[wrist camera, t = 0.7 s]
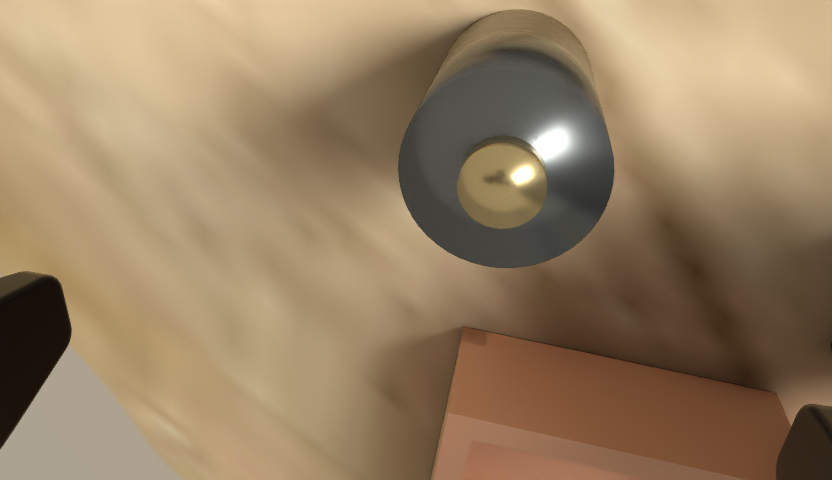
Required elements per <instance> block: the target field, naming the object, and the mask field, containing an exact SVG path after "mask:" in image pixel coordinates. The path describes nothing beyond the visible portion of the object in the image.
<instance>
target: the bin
mask: <svg viewBox="0 0 832 480" xmlns="http://www.w3.org/2000/svg"><path fill="white" fill-rule="evenodd" d="M790 428H791V425H790V423H789V421H788V419H787V416H786V414H785V412H784V410H783V408H782V405H781V403H780V401H779V399H778V397H777V394H776V393H772V392H768V391H763V390H758V389H754V388H749V387H744V386H740V385H735V384H730V383H725V382H721V381H716V380H711V379H707V378H702V377H697V376H693V375H688V374H683V373H679V372H674V371H669V370H664V369H660V368H655V367H650V366H646V365H641V364H636V363H632V362H627V361H622V360H618V359H613V358H608V357H604V356H599V355H594V354H589V353H585V352H580V351H575V350H571V349H566V348H561V347H557V346H552V345H547V344H543V343H538V342H533V341H528V340H524V339H519V338H514V337H510V336H505V335H500V334H496V333H491V332H486V331H482V330H477V329H472V328H467V327H463V331H462V336H461V341H460V345H459V350H458V354H457V359H456V364H455V368H454V373H453V378H452V382H451V387H450V392H449V396H448V401H447V406H446V410H445V415H444V419H443V424H442V429H441V433H440V438H439V443H438V447H437V452H436V457H435V461H434V466H433V470H432V475H431V480H776V462H777V458H778V455H779V452H780V450H781V448H782V446H783V444H784V442H785V439H786V437H787V435H788V433H789V431H790Z"/></svg>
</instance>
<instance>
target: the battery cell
mask: <svg viewBox="0 0 832 480" xmlns="http://www.w3.org/2000/svg"><path fill="white" fill-rule="evenodd" d="M398 170H399V182H400V187H401V191H402V195H403V198H404V200H405V203H406V206H407V208H408V210H409V212H410V213H411V215H412V217H413V219H414V220H415V221H416V223H417V224H418V226H419V227H420V228H421V229H422V230H423V232H424V233H425V234H426V235H427V236H428V237H429V238H430V239H431V240H433V241H434V242H435V243H436V244H437V245H439V246H440V247H442V248H443V249H444V250H446V251H447V252H449V253H451V254H453V255H455V256H457V257H459V258H461V259H464V260H466V261H469V262H472V263H476V264H479V265H483V266H490V267H497V268H515V267H525V266H530V265H535V264H538V263H542V262H545V261H548V260H550V259H552V258H555V257H557V256H559V255H561V254H563V253H564V252H566V251H568V250H569V249H571V248H572V247H574V246H575V245H576V244H577V243H579V242H580V241H581V240H582V239H583V238H584V237H585V236H586V235H587V234H588V233H589V232H590V231H591V230H592V229H593V227H594V226H595V225H596V223H597V222H598V221H599V219H600V217H601V215H602V214H603V212H604V210H605V208H606V206H607V203H608V201H609V198H610V195H611V190H612V186H613V179H614V158H613V153H612V148H611V143H610V139H609V135H608V131H607V128H606V124H605V120H604V116H603V112H602V108H601V104H600V100H599V96H598V92H597V89H596V85H595V81H594V77H593V73H592V69H591V65H590V62H589V59H588V56H587V53H586V51H585V49H584V47H583V46H582V44H581V42H580V41H579V40H578V38H577V37H576V36H575V35H574V34H573V32H572V31H571V30H570V29H569V28H567V27H566V26H565V25H563V24H562V23H561V22H559V21H558V20H556V19H554V18H552V17H550V16H548V15H545V14H543V13H539V12H535V11H530V10H507V11H501V12H498V13H494V14H491V15H489V16H487V17H484V18H482V19H480V20H479V21H477V22H475V23H474V24H472V25H471V26H470V27H469V28H467V29H466V30H465V31H464V32H463V33H462V34H461V35H460V36H459V37H458V39H457V40H456V41H455V43H454V44H453V46H452V47H451V49H450V51H449V52H448V54H447V56H446V58H445V60H444V62H443V64H442V65H441V67H440V69H439V71H438V73H437V75H436V76H435V78H434V80H433V82H432V84H431V86H430V88H429V89H428V91H427V93H426V95H425V97H424V99H423V100H422V102H421V104H420V106H419V108H418V110H417V112H416V113H415V115H414V117H413V119H412V121H411V123H410V125H409V127H408V128H407V130H406V133H405V136H404V138H403V141H402V145H401V150H400V154H399V167H398Z"/></svg>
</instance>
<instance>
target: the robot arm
mask: <svg viewBox="0 0 832 480" xmlns="http://www.w3.org/2000/svg"><path fill="white" fill-rule="evenodd" d="M71 332H72V328H71V323H70V319H69V314H68V310H67V306H66V302H65V298H64V293H63V289H62V286H61V283H60V282H59V281H58V279H57V278H55V277H53V276H51V275H47V274H41V273H35V272H28V271H25V272H18V273H15V274H11V275H8V276H5V277H1V278H0V449H1V448H2V446H3V445H4V443H5V442H6V440H7V439H8V438H9V436H10V434H11V433H12V432H13V430H14V429H15V427H16V425H17V424H18V423H19V421H20V419H21V418H22V416H23V415H24V413H25V412H26V410H27V409H28V407H29V406H30V404H31V402H32V401H33V399H34V398H35V396H36V395H37V393H38V392H39V390H40V389H41V387H42V385H43V384H44V382H45V381H46V379H47V378H48V376H49V375H50V373H51V371H52V370H53V368H54V367H55V365H56V364H57V362H58V361H59V359H60V357H61V356H62V354H63V353H64V351H65V350H66V348H67V346H68V344H69V342H70V338H71ZM831 351H832V343H831ZM776 480H832V407H828V406H822V405H817V404H808V405H805V406H803V407H802V408H801V409H800V410H799V412H798V413H797V415H796V418H795V420H794V422H793V424H792V426H791V428H790V431H789V433H788V435H787V437H786V439H785V442H784V444H783V446H782V448H781V450H780V452H779V455H778V458H777V462H776Z"/></svg>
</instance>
